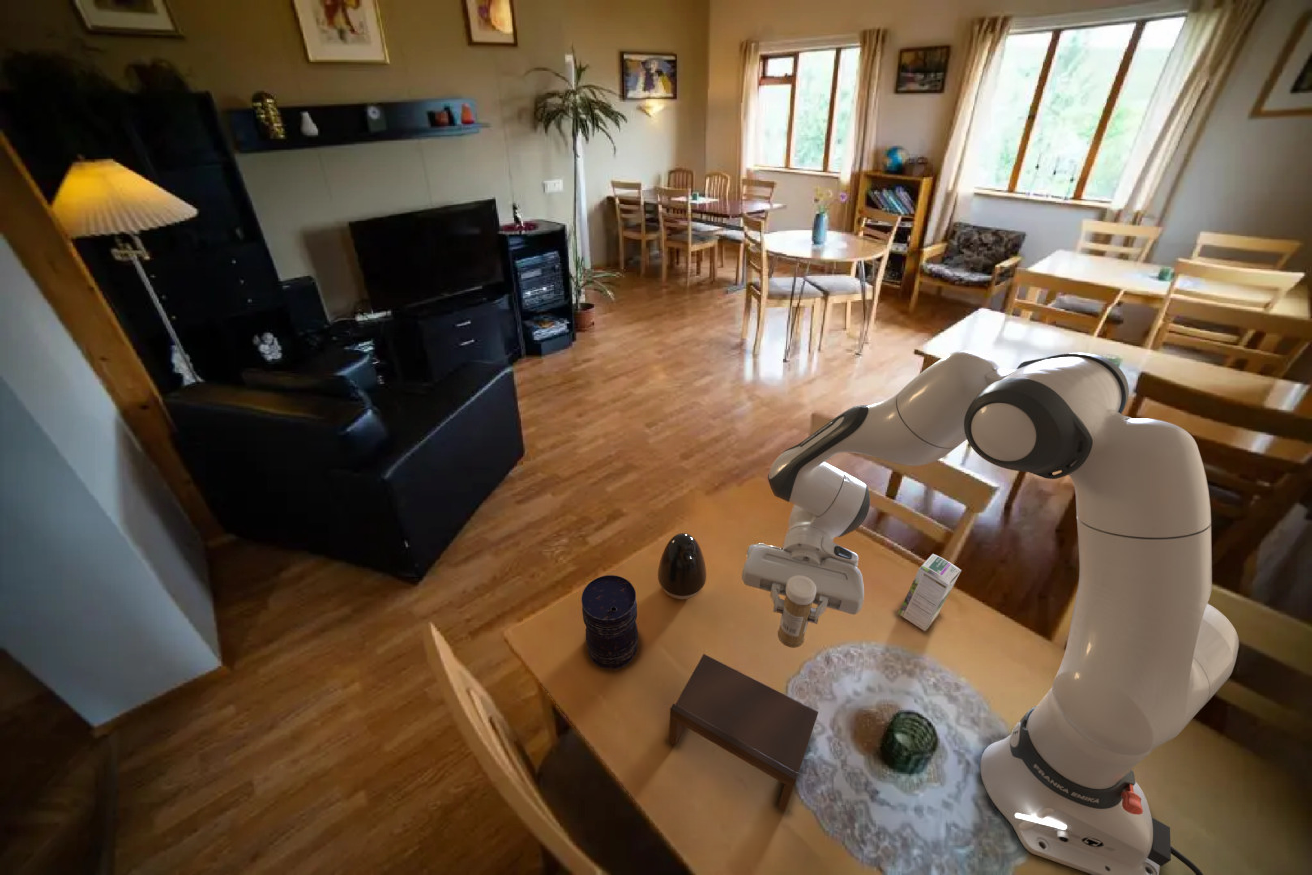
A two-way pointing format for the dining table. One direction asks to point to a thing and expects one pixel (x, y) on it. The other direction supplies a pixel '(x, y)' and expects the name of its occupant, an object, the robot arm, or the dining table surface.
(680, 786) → the dining table surface
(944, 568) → the syrup box
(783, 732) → the desk shelf
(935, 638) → the dining table surface
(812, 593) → the sprinkles bottle
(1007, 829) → the dining table surface
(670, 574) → the black egg-shaped piece
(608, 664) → the storage jar
